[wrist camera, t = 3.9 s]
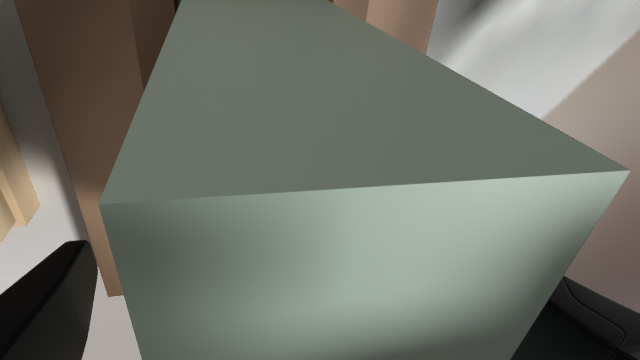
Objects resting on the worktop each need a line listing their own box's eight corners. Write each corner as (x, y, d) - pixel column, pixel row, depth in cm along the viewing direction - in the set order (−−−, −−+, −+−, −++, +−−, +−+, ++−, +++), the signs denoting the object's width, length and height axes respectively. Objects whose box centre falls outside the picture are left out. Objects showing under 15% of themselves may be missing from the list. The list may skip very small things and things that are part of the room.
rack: (454, -131, 13) (500, -143, 11) (368, 252, 22) (384, 284, 20) (-38, -222, 9) (-108, -266, 7) (112, 281, 19) (101, 323, 17)
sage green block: (310, -9, 13) (630, 170, 3) (294, 217, 18) (393, 543, 8) (189, -19, 12) (99, 204, 2) (209, 224, 17) (211, 604, 7)
